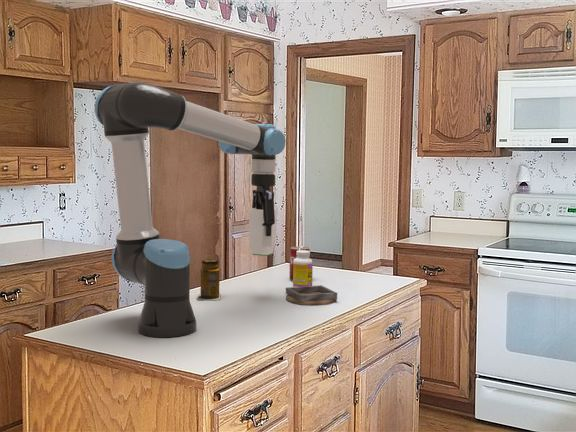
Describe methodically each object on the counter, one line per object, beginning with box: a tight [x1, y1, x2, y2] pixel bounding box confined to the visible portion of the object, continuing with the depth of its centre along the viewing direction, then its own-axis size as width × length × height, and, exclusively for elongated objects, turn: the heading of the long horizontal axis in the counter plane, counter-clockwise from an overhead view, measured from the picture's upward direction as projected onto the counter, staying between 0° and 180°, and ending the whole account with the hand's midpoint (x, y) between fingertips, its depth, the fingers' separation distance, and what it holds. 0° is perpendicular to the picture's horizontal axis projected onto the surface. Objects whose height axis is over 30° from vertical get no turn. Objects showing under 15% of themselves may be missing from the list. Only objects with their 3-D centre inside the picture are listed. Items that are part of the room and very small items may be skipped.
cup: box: [248, 207, 277, 257], centre depth 216 cm, size 7×7×15 cm
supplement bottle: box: [292, 250, 314, 287], centre depth 233 cm, size 7×7×13 cm
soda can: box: [288, 245, 311, 282], centre depth 247 cm, size 7×7×12 cm
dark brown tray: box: [285, 284, 338, 306], centre depth 217 cm, size 16×16×3 cm
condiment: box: [196, 258, 222, 301], centre depth 218 cm, size 7×8×12 cm
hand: (262, 244), depth 216 cm, fingers closed on cup, 9 cm apart
